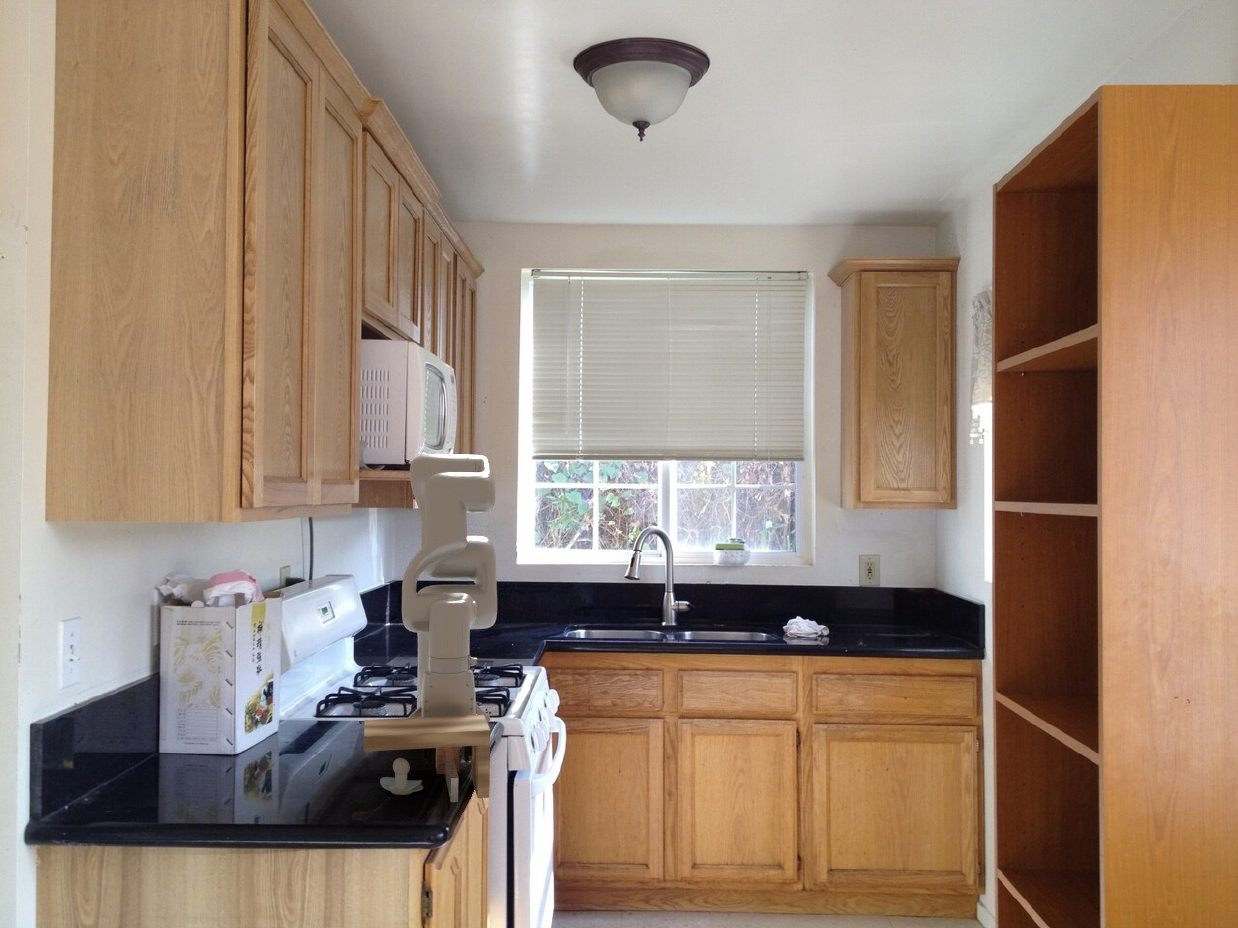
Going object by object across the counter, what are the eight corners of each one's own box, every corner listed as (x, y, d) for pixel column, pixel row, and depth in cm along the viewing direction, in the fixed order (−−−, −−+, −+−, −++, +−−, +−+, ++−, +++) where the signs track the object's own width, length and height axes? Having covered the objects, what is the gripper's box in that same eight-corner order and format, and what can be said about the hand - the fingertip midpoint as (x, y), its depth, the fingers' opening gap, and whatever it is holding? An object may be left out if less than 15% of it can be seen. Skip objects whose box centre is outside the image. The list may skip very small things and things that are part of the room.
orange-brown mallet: (435, 767, 180) (436, 719, 180) (457, 766, 180) (458, 718, 181) (442, 802, 160) (443, 748, 160) (466, 801, 161) (467, 747, 161)
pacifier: (391, 785, 170) (376, 795, 164) (392, 749, 170) (377, 758, 164) (429, 788, 168) (415, 798, 162) (431, 752, 168) (416, 761, 162)
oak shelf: (363, 785, 169) (364, 720, 169) (482, 777, 174) (483, 714, 174) (362, 805, 158) (363, 736, 158) (489, 797, 163) (490, 730, 163)
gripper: (492, 659, 184) (491, 752, 184) (401, 662, 180) (399, 757, 180) (497, 667, 177) (496, 764, 177) (402, 670, 173) (400, 769, 172)
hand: (447, 759), depth 178 cm, fingers open, 6 cm apart
